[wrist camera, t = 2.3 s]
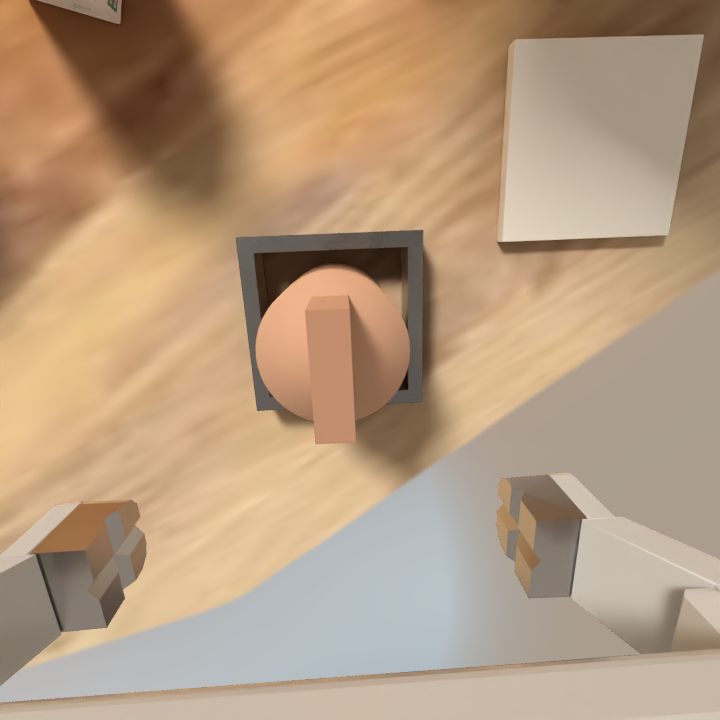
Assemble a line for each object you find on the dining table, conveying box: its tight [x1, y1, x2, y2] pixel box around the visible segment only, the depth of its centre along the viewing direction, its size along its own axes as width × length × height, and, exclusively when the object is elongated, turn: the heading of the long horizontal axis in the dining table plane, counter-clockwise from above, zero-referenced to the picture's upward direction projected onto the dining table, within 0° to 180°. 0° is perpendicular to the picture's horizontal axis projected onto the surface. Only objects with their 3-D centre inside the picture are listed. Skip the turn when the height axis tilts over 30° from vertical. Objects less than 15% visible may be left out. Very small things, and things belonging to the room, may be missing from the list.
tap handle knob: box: [256, 263, 410, 444], centre depth 24 cm, size 8×8×14 cm
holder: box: [236, 230, 423, 411], centre depth 29 cm, size 12×12×3 cm
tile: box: [497, 34, 704, 242], centre depth 27 cm, size 12×12×1 cm
